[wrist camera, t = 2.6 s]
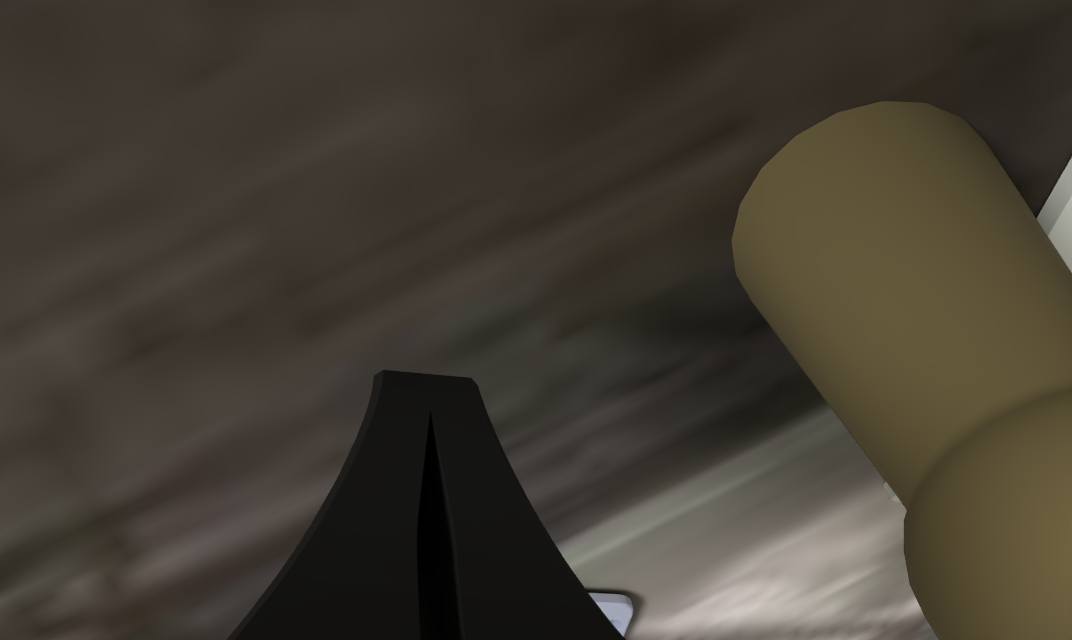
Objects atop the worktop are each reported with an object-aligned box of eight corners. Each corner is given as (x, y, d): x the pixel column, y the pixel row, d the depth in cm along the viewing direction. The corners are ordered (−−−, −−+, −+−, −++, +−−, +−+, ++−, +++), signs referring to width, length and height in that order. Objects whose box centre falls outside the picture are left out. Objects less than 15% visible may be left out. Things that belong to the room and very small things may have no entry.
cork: (1025, 84, 20) (1499, 465, 11) (968, 316, 24) (1291, 741, 15) (738, 116, 20) (989, 529, 11) (725, 345, 23) (905, 791, 15)
